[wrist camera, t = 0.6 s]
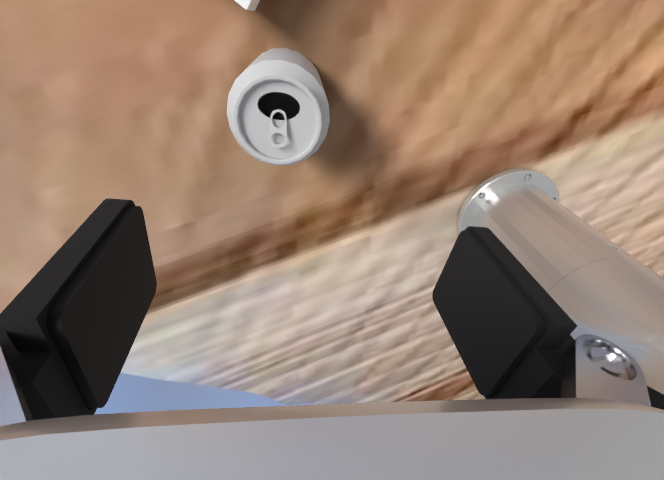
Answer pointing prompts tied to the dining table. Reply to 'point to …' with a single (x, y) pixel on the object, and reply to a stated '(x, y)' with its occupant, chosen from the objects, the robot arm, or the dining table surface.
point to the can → (279, 108)
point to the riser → (248, 4)
